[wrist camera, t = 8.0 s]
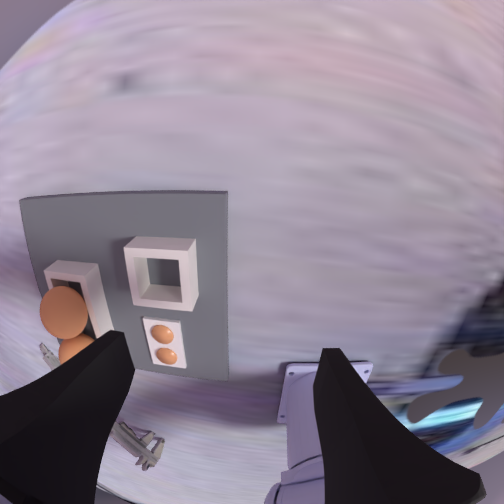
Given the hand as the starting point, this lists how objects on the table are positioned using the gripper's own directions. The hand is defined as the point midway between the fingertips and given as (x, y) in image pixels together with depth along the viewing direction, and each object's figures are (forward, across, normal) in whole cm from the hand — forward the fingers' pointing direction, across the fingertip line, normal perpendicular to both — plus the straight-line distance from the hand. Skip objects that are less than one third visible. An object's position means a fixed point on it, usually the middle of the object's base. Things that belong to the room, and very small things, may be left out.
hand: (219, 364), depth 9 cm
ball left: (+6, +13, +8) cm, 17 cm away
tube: (+9, +5, +1) cm, 11 cm away
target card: (+9, +6, +8) cm, 14 cm away
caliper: (+11, +17, +21) cm, 29 cm away
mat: (+10, +10, +4) cm, 15 cm away
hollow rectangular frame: (+9, +13, +6) cm, 17 cm away
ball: (+6, +13, +4) cm, 15 cm away
